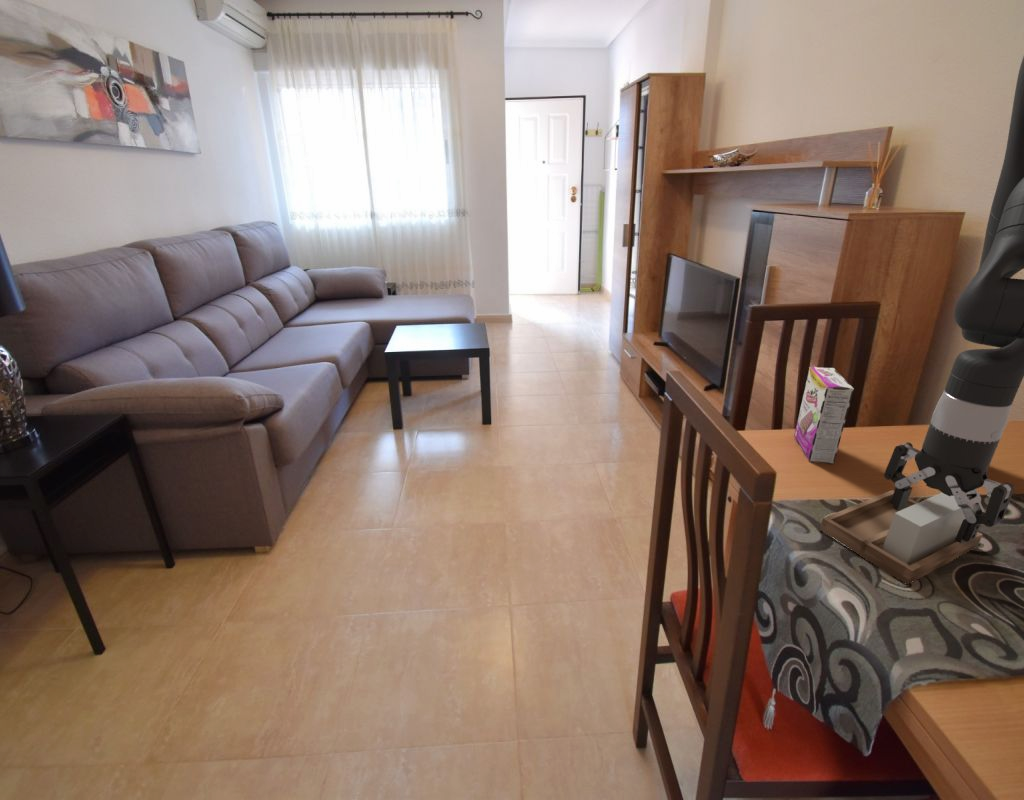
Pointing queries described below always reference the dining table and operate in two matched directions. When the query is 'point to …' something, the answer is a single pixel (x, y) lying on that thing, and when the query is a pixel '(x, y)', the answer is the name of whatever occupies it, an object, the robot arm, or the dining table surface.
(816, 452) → the candy bar box
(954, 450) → the robot arm
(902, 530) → the light gray rectangular block
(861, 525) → the tray
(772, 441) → the dining table surface
